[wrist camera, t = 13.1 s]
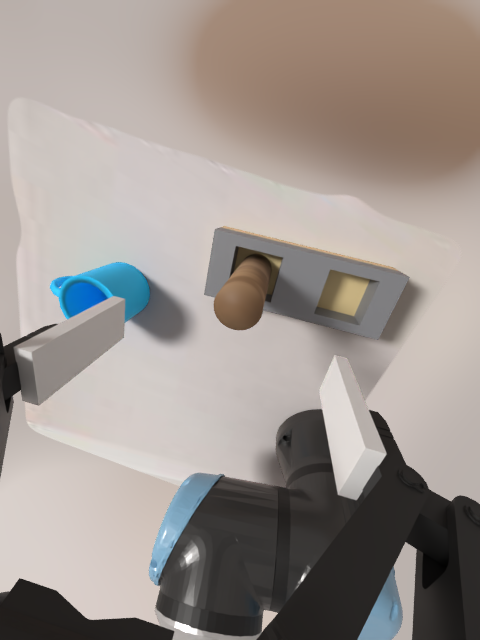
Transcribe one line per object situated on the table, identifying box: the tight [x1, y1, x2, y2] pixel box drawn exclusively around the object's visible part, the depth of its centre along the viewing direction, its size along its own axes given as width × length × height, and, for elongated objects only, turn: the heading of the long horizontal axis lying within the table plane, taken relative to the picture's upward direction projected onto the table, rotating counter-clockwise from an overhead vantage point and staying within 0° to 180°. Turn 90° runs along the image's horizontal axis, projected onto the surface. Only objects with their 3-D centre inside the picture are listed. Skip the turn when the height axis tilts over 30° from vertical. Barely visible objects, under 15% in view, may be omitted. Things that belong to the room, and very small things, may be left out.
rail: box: [204, 226, 410, 340], centre depth 33 cm, size 22×8×5 cm, turn 78°
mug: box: [50, 262, 150, 323], centre depth 37 cm, size 12×8×8 cm
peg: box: [214, 254, 272, 330], centre depth 28 cm, size 4×4×14 cm
